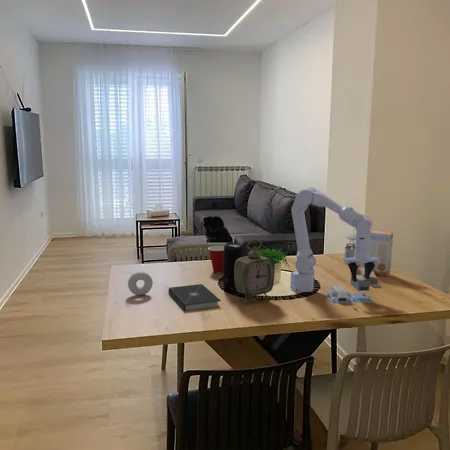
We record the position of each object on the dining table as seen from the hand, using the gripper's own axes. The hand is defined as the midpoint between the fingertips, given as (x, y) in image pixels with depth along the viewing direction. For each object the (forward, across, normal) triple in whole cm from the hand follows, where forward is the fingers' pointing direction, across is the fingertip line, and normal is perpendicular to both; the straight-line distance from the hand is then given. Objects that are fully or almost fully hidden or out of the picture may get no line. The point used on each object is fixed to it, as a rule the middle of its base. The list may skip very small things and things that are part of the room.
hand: (360, 280), depth 191 cm
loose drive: (+3, 0, 0) cm, 3 cm away
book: (+9, -66, +8) cm, 68 cm away
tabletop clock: (+9, -43, +5) cm, 44 cm away
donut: (+8, -88, +15) cm, 89 cm away
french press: (+9, +21, +57) cm, 61 cm away
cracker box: (+9, +24, +36) cm, 44 cm away
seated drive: (+7, -8, 0) cm, 11 cm away
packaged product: (+9, +15, +26) cm, 31 cm away
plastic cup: (+8, -51, +47) cm, 70 cm away
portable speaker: (+9, -49, +20) cm, 53 cm away
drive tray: (+8, -4, 0) cm, 9 cm away
